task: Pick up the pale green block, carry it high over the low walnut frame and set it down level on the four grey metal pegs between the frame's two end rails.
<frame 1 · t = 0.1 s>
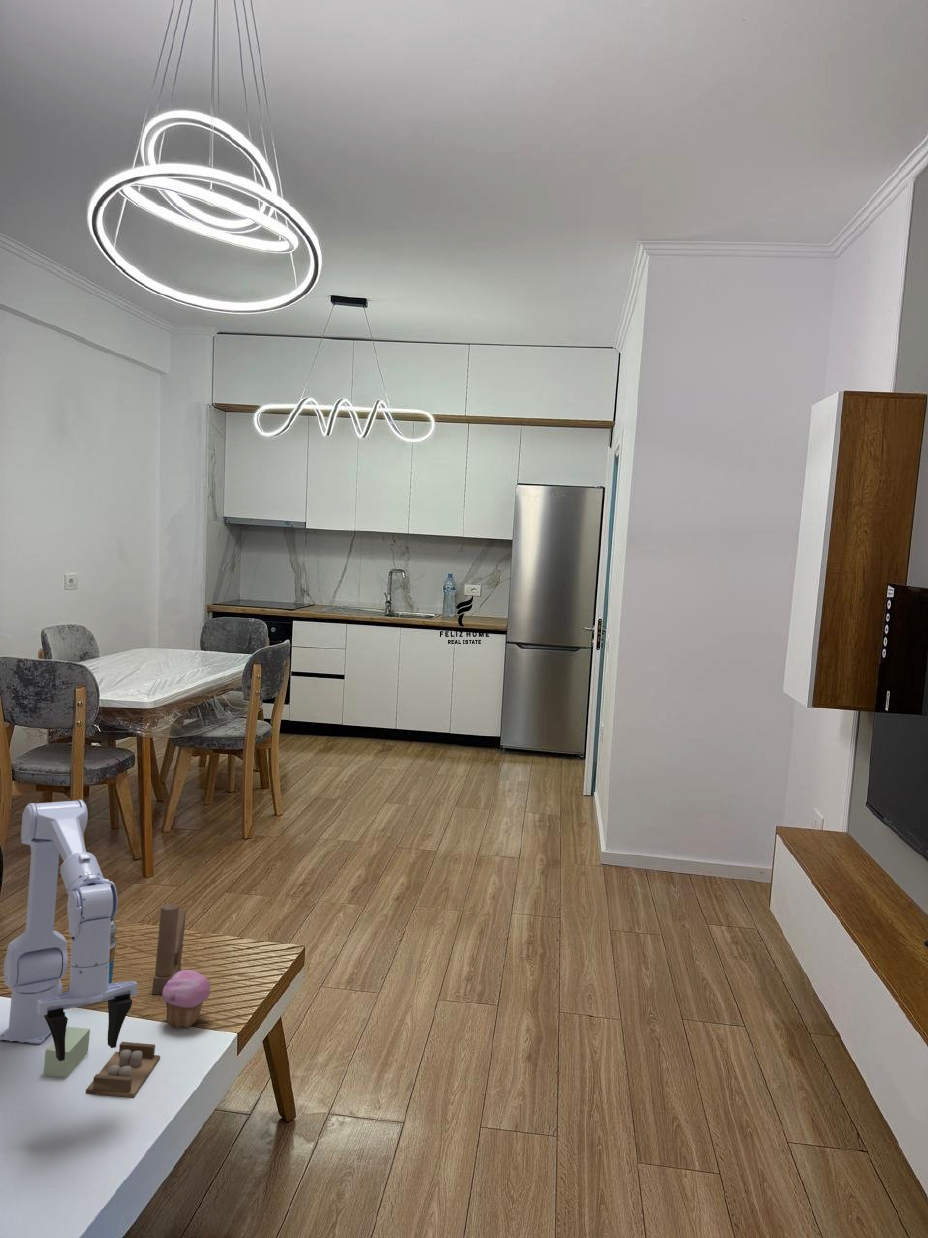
hand: (86, 1052, 131), 11 cm above the table, tool pointing down, fingers open, 7 cm apart
pale green block: (66, 1064, 146), on the table
beverage bottle: (89, 996, 171), on the table
cupcake: (183, 1024, 163), on the table
wooden block: (166, 984, 179), on the table
peg frame: (124, 1075, 144), on the table
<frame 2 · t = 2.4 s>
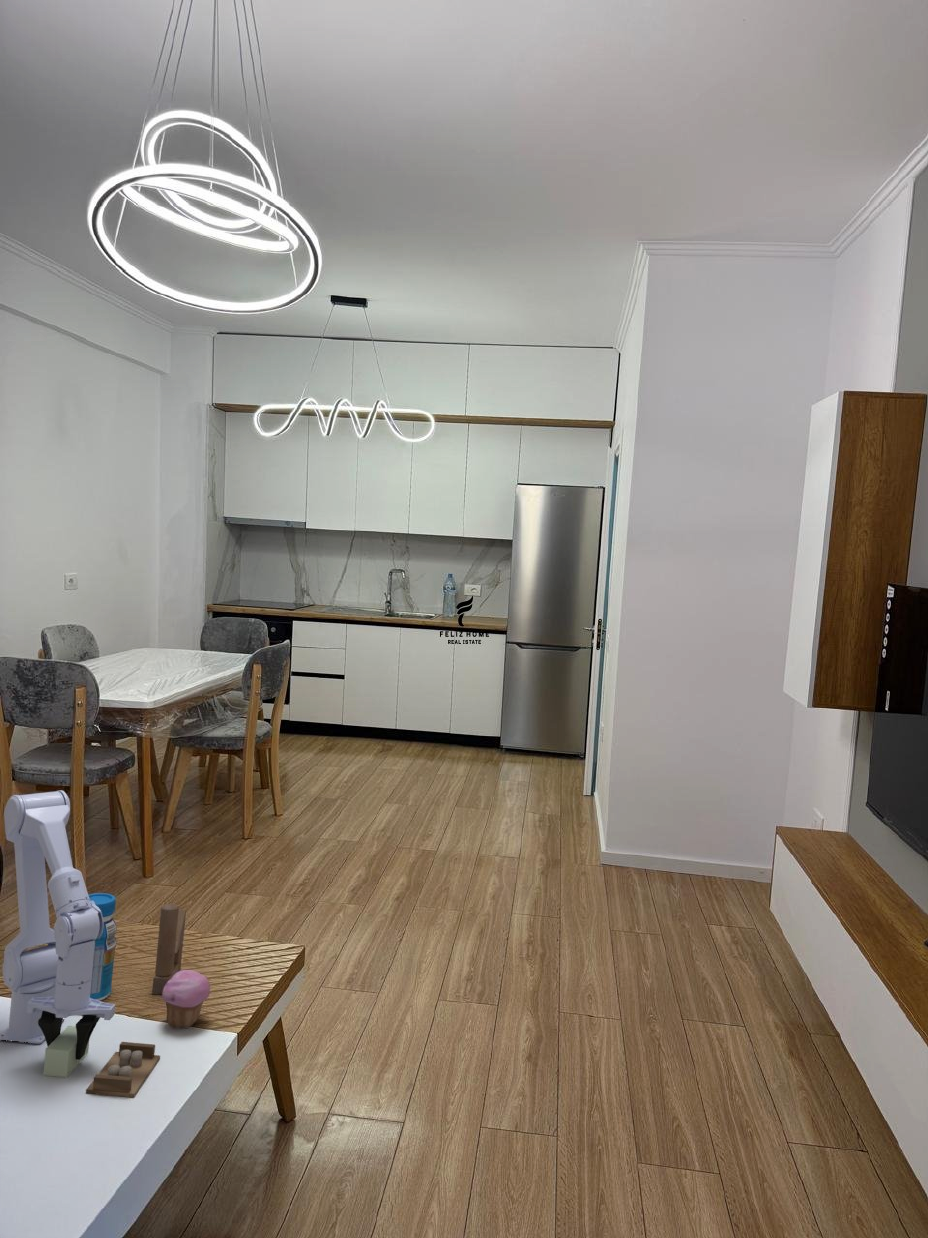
hand: (66, 1055, 146), 1 cm above the table, tool pointing down, fingers closed on pale green block, 4 cm apart
pale green block: (66, 1063, 146), on the table, touching gripper
everything else where it was.
when the fingers open (5 cm above the table, at t = 5.9 s): pale green block stays where it is, resting on peg frame.
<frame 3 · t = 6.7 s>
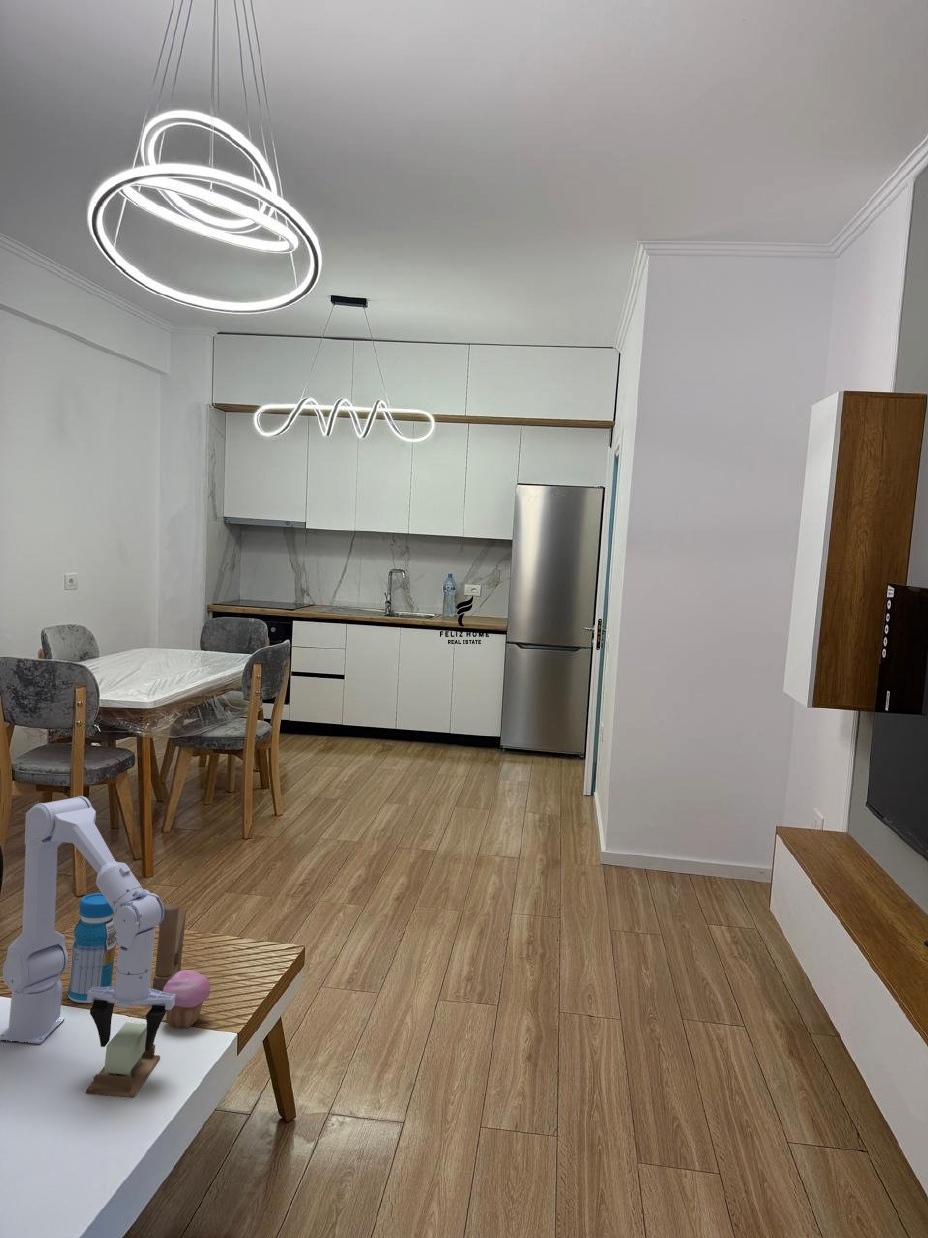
hand: (127, 1046, 144), 5 cm above the table, tool pointing down, fingers open, 7 cm apart
pale green block: (125, 1061, 144), point 3 cm above the table, touching peg frame
everything else where it was.
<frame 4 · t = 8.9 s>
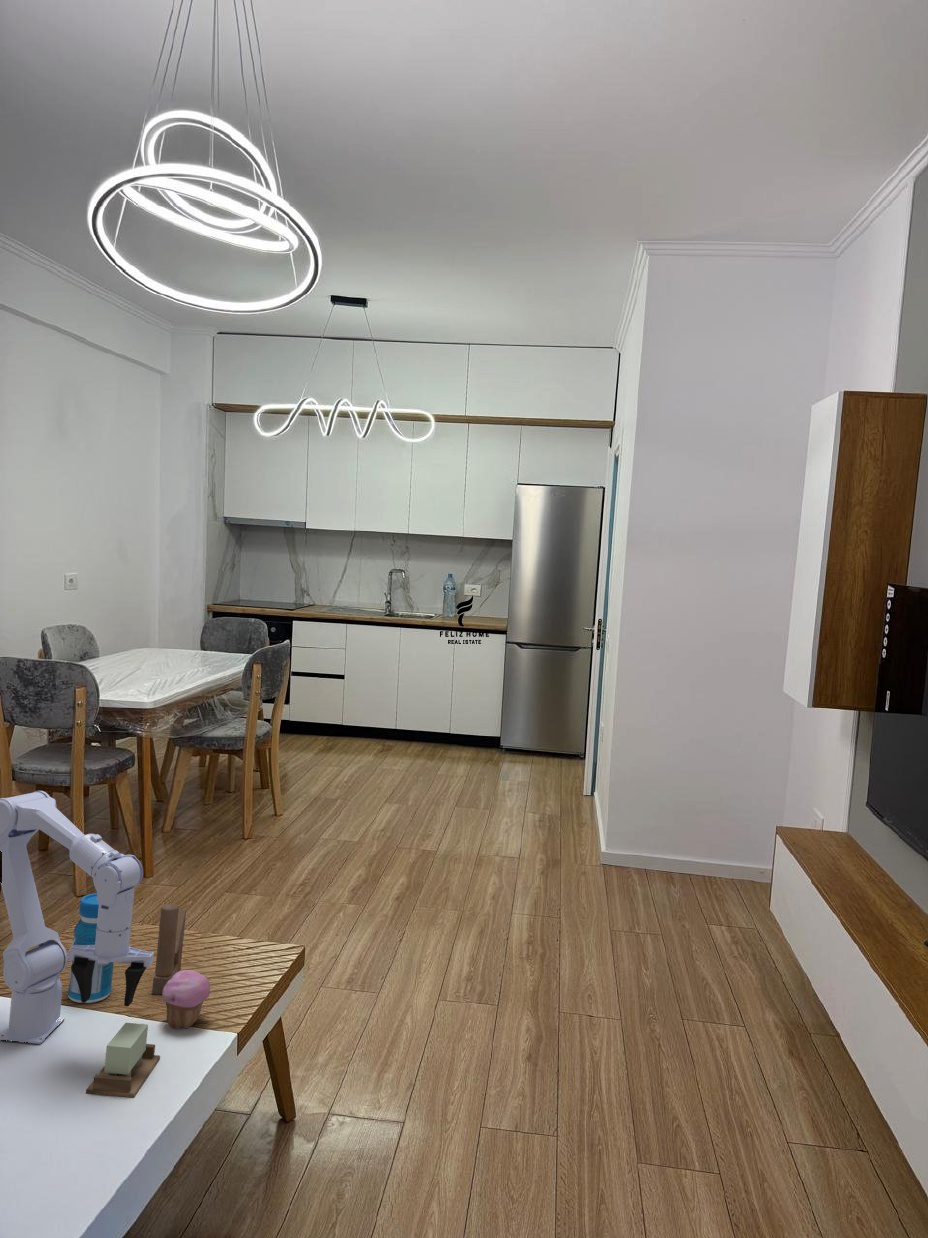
hand: (107, 1002, 149), 10 cm above the table, tool pointing down, fingers open, 7 cm apart
nothing on the table moved.
at the end: pale green block 0.1 cm off-centre on the peg frame, point 2.6 cm above the peg frame's base; pale green block tilted 0°; the gripper is holding nothing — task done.
